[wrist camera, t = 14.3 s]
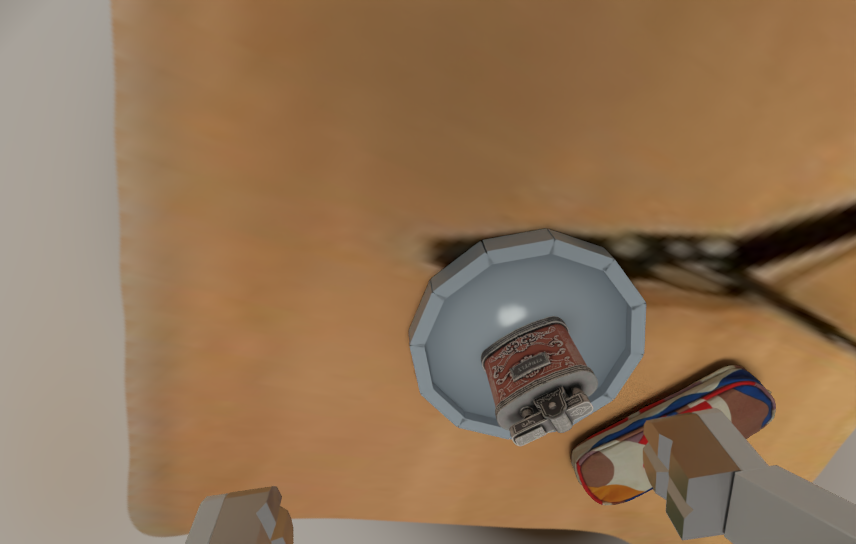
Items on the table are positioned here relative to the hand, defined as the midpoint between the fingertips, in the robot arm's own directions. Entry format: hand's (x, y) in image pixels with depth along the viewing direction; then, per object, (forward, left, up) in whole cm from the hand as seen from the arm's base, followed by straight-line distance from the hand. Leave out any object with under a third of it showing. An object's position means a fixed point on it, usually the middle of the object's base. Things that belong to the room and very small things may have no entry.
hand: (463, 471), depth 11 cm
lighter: (-7, +18, -28) cm, 34 cm away
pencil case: (-20, +31, -30) cm, 47 cm away
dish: (-7, +18, -29) cm, 35 cm away
